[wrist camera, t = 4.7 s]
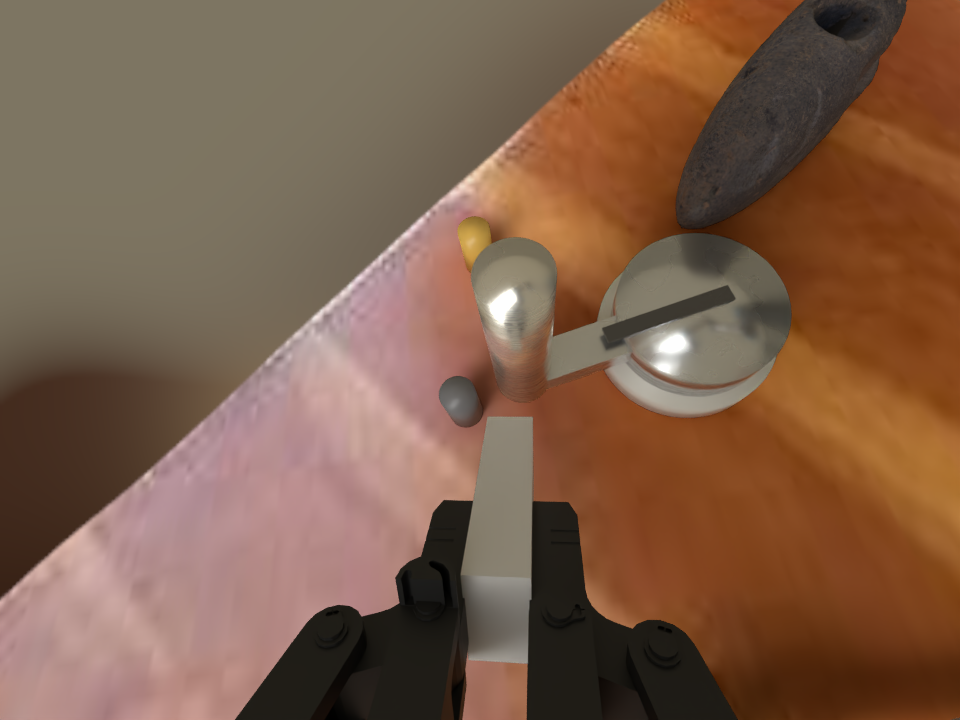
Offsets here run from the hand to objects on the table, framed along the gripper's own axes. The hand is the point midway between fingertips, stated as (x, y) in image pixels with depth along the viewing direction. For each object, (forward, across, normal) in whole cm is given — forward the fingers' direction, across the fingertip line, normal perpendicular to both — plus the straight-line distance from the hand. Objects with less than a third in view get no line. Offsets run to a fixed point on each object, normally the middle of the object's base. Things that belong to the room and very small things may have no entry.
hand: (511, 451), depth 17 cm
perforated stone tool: (+17, +13, +8) cm, 23 cm away
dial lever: (+7, +5, +1) cm, 9 cm away
